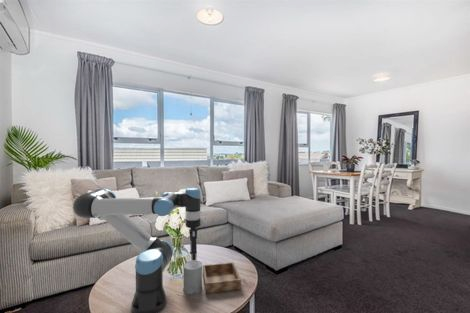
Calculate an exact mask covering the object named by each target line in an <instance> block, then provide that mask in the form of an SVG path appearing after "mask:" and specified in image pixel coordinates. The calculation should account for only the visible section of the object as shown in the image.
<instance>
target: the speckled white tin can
mask: <svg viewBox="0 0 470 313" xmlns="http://www.w3.org/2000/svg"><path fill="white" fill-rule="evenodd" d="M202 289H203V263H202V262H201V261H198V260H197V266H191V260H190V261H187V262H185V263H183V289H182V290H183V292H184V293H185V294H187V295H195V294H198V293H200V292H201V291H202Z"/></svg>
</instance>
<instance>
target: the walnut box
mask: <svg viewBox="0 0 470 313" xmlns="http://www.w3.org/2000/svg"><path fill="white" fill-rule="evenodd" d="M202 281H203V285H204V293H205V295H212V294H213V295H214V294H220V293H229V292H238V291H239V292H240V291H242V287H241V286H242V279H241V276H240V274H239V273H238V269H237V267H236V265H235V262H233V261H232V262H223V263H213V264H202Z"/></svg>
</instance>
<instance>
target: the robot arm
mask: <svg viewBox="0 0 470 313" xmlns="http://www.w3.org/2000/svg"><path fill="white" fill-rule="evenodd" d="M201 199H202V196H201V189H199V188H197V187H188V188H186V189H185V191H183V192H182V191H181V192H179V191H177V192H176V191H172V192H171V191H169V192H168V191H167V192H163V193H162V194H161V197H160V196H159V197H152V196H151V197H120V198H119V197H118V198H117V195H116V194H115V193H114V192H113V191H112V190H111V189H107V188H100V189H95V190H94V191H89V192H85V193H82V194H80V195H79V196H77V197H76V198H75V200H74V201H73V203H72V209H73V212H74V213H75V215H76V216H77V217H79V218H82V219H94V218H95V219H99V220H100V221H106V222H107V223H108V224H109V225H110V226H111V227H112V228H114V229H115V231H117V232H118V233H119V234H120V235H121V236H122V237H123V238H125V240H127V241H128V242H129V243H130V244H131V245H133V247H135V248H136V249H137V250H138V251H139V254H138V256H137V257H136V259H135V265H134V267H135V268H134V269H135V292H134V295H133V298H132V301H131V312H132V313H159V312H160V311H162V310H163V309H164V308H165V307H166V305H167V294H166V291H165V289H164V286H163V285H164V284H163V280H164V279H163V273H164V271H165V269H166V268H167V266H168V265H169V263H170V262H171V261H172V258H173V256H174V255H173V254H174V248H173V246H172V244H171V243H170V242H168V241H167V240H161V239H160V238H159V237H157V236H155V237H153V236H152V235H151V234H150V233H148V232H147V231H146V230H145V229H144V228H143V227H142V226H140V225H139V223H137V222H136V221H135V220H134V219H133V218H131V217H130V215H133V216H134V215H157V216H159V217H165V216H167V215H170V214H171V213H172V212H173V211H174V210H175V209H176V208H185V227H186V228H187V229H188V230H189V231H188V232H189V233H188V234H189V239H190V246H189V248H190V249H189V250H190V251H189V255H190V261H191V266H197V261H198V258H197V257H198V255H197V254H198V251H197V249H198V248H197V239H198V228H200V227H201V221H202V220H201V214H202V213H203V212H202V211H201Z"/></svg>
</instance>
